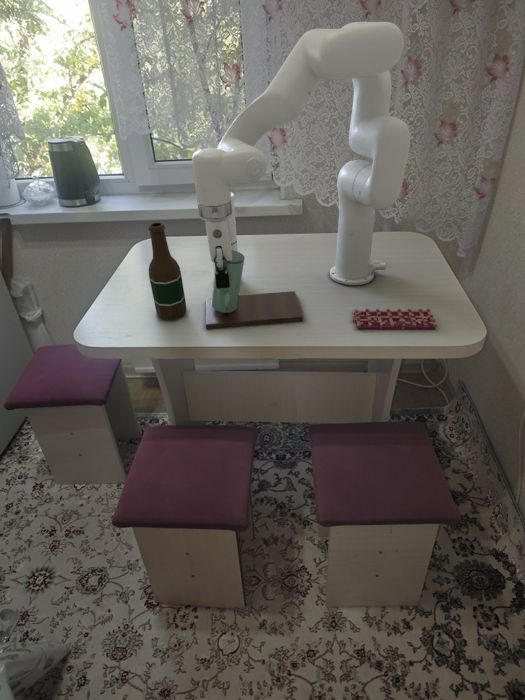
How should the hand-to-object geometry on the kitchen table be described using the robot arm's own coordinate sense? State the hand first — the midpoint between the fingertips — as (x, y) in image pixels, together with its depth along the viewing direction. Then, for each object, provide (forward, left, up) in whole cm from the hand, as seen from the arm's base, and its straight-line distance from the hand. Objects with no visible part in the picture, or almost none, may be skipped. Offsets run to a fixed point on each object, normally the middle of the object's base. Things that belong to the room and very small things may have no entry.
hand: (222, 279), depth 112 cm
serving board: (-7, +1, -10) cm, 12 cm away
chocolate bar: (-41, +10, -10) cm, 43 cm away
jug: (0, +1, -7) cm, 8 cm away
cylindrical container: (-1, -17, -10) cm, 20 cm away
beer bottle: (+14, -2, -10) cm, 17 cm away
